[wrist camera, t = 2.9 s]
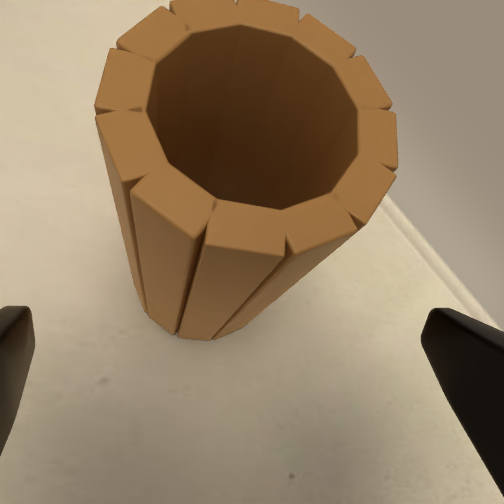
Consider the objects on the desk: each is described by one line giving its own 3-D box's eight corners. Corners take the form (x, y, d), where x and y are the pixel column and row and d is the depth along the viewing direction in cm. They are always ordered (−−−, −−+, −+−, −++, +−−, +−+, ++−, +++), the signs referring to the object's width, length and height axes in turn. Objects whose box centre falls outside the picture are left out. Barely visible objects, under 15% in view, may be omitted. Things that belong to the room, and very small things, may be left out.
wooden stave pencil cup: (285, 308, 21) (450, 194, 9) (164, 362, 19) (171, 305, 7) (234, 199, 23) (317, -22, 11) (116, 238, 20) (53, 16, 8)
